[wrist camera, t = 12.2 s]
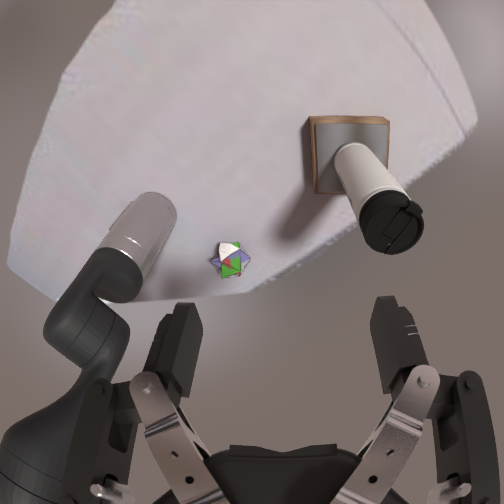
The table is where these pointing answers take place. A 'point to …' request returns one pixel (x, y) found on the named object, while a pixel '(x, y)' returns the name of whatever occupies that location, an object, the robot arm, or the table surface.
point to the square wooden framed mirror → (336, 134)
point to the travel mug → (378, 200)
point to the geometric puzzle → (230, 259)
